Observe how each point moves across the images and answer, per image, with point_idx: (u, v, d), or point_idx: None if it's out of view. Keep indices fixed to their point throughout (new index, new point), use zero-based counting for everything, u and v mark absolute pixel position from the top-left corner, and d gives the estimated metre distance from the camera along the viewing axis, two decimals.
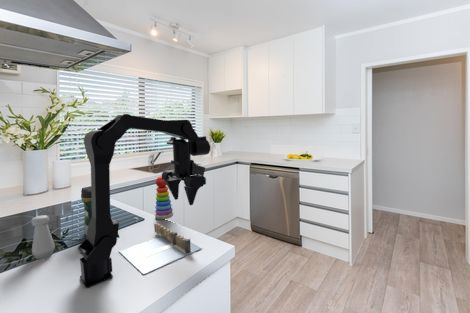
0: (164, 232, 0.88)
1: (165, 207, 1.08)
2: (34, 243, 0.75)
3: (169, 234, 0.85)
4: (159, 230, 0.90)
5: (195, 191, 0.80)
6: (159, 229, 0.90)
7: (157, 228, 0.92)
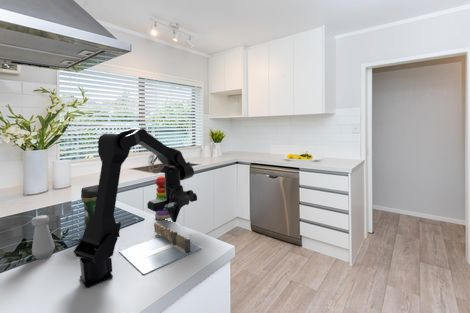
0: (164, 232, 0.88)
1: None
2: (34, 243, 0.75)
3: (169, 234, 0.85)
4: (159, 230, 0.90)
5: None
6: (159, 229, 0.90)
7: (157, 228, 0.92)
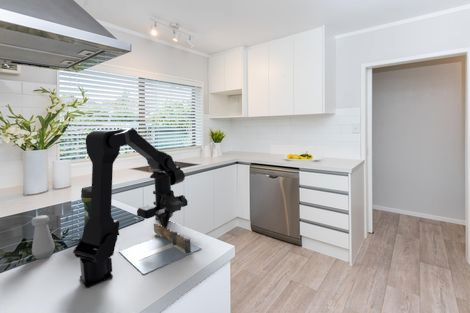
0: (164, 232, 0.88)
1: None
2: (34, 243, 0.75)
3: (169, 234, 0.85)
4: (159, 230, 0.90)
5: (161, 218, 0.90)
6: (159, 229, 0.90)
7: (156, 228, 0.91)
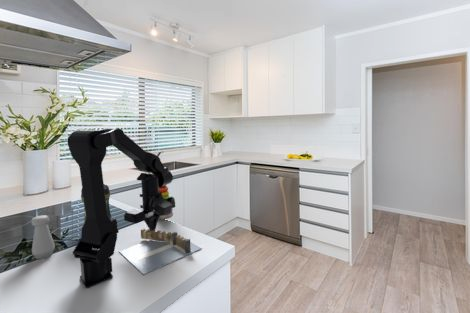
0: (158, 235, 0.85)
1: None
2: (34, 243, 0.75)
3: (167, 235, 0.84)
4: (150, 235, 0.86)
5: (150, 221, 0.86)
6: (150, 234, 0.86)
7: (146, 234, 0.87)
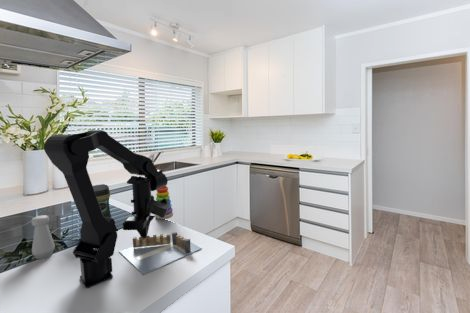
0: (156, 239, 0.82)
1: None
2: (34, 243, 0.75)
3: (167, 237, 0.83)
4: (145, 242, 0.81)
5: (144, 227, 0.81)
6: (145, 240, 0.81)
7: (140, 242, 0.81)
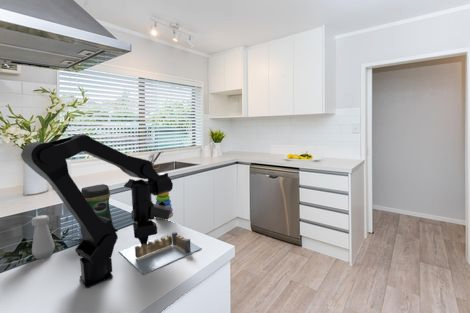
0: (159, 243, 0.80)
1: None
2: (34, 243, 0.75)
3: (169, 239, 0.82)
4: (148, 248, 0.77)
5: None
6: (148, 247, 0.77)
7: (144, 249, 0.76)
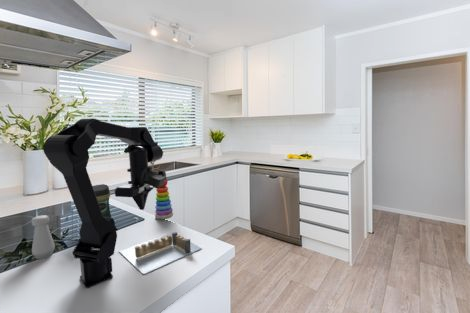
0: (159, 243, 0.80)
1: (165, 207, 1.08)
2: (34, 243, 0.75)
3: (169, 239, 0.82)
4: (148, 248, 0.77)
5: (140, 197, 0.82)
6: (148, 247, 0.77)
7: (144, 249, 0.76)
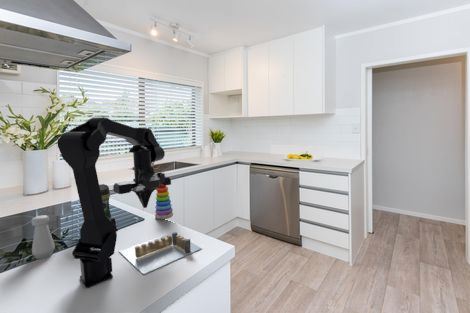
0: (159, 243, 0.80)
1: (165, 207, 1.08)
2: (34, 243, 0.75)
3: (169, 239, 0.82)
4: (148, 248, 0.77)
5: None
6: (148, 247, 0.77)
7: (144, 249, 0.76)
